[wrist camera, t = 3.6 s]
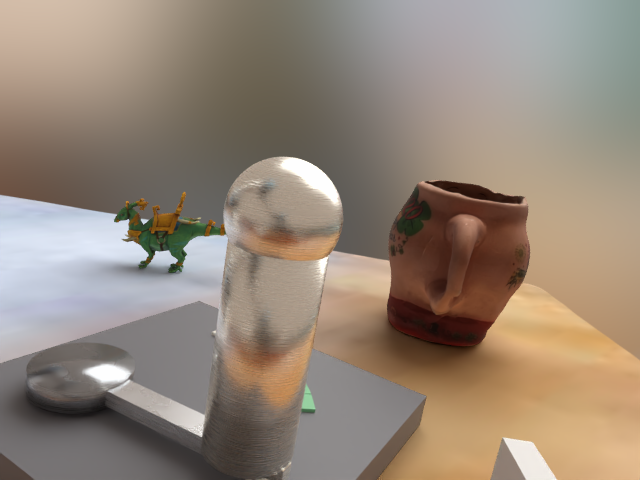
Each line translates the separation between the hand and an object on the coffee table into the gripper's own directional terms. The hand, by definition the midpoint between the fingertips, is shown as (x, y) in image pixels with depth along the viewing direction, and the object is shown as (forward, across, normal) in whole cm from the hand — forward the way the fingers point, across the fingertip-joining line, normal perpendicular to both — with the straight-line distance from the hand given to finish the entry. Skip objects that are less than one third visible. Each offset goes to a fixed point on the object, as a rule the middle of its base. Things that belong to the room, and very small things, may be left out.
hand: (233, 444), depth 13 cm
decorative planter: (+34, +14, -10) cm, 38 cm away
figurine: (+40, -12, -10) cm, 43 cm away
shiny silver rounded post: (+11, -5, -7) cm, 14 cm away
